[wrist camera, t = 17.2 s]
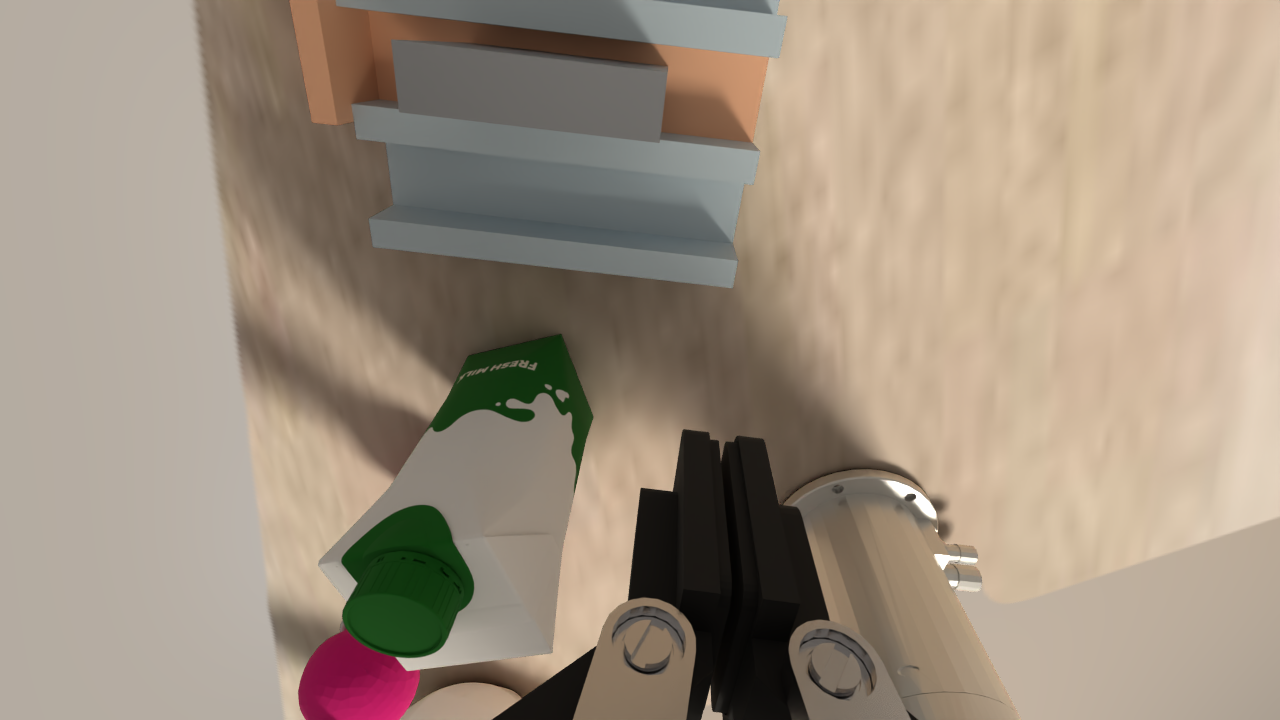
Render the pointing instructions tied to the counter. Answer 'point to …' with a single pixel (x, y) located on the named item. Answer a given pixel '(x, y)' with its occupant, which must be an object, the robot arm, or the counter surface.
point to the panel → (530, 88)
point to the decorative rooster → (463, 703)
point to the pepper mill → (354, 682)
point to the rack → (557, 133)
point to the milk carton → (472, 519)
